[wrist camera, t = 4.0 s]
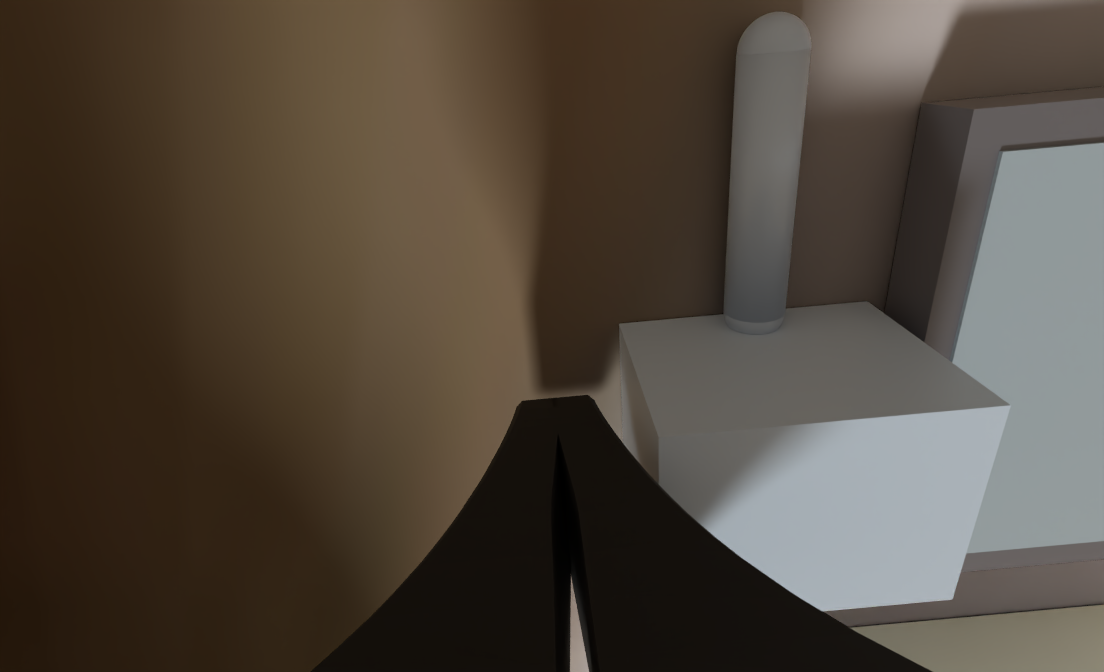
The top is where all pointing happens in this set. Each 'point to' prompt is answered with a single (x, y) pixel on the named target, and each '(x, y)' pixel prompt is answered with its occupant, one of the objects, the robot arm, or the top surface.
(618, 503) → the robot arm
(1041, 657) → the outlet plate
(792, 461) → the cable plug
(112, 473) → the top surface
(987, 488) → the phone
